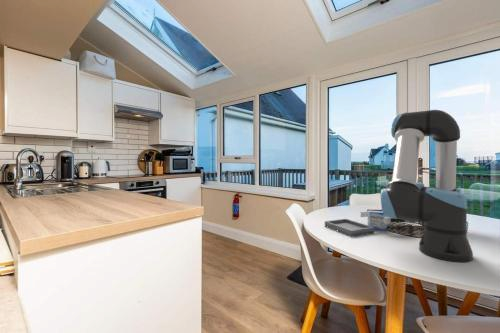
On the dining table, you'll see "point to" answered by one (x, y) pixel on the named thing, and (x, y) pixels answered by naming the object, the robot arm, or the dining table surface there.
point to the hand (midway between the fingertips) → (372, 217)
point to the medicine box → (376, 220)
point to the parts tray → (349, 227)
